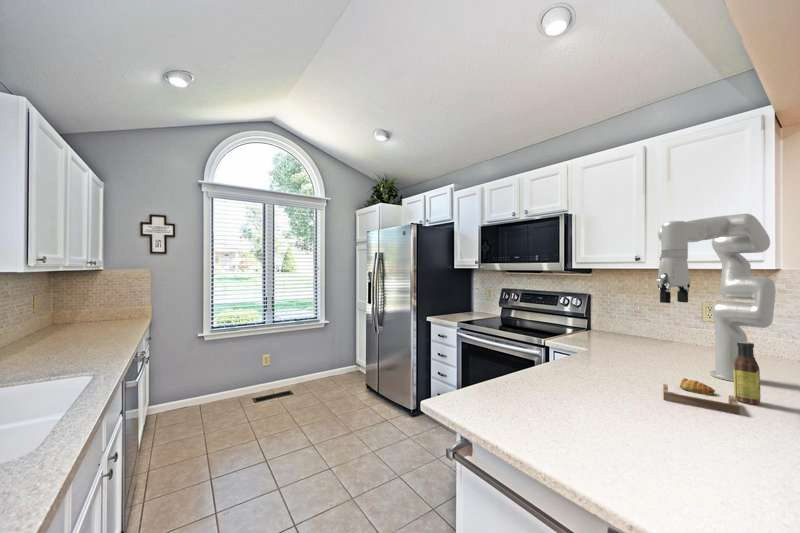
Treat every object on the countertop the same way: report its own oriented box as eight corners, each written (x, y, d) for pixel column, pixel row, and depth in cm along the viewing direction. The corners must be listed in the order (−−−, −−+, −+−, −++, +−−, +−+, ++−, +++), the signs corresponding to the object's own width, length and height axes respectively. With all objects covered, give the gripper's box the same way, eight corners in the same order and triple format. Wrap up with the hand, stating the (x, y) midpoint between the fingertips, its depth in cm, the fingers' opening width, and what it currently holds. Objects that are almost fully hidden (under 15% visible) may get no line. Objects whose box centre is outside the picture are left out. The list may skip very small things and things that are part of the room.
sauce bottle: (766, 406, 110) (766, 345, 110) (743, 404, 111) (743, 344, 112) (749, 398, 117) (749, 341, 117) (728, 397, 118) (728, 340, 118)
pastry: (717, 394, 121) (717, 383, 121) (710, 397, 118) (710, 386, 118) (684, 386, 129) (684, 376, 129) (677, 389, 126) (677, 379, 126)
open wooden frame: (663, 390, 123) (663, 383, 123) (733, 403, 112) (733, 396, 112) (663, 399, 114) (663, 392, 115) (739, 414, 103) (739, 406, 103)
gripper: (678, 256, 130) (677, 301, 129) (647, 255, 123) (647, 302, 123) (701, 255, 123) (701, 302, 122) (670, 254, 116) (669, 304, 116)
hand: (674, 302), depth 123 cm, fingers open, 9 cm apart
